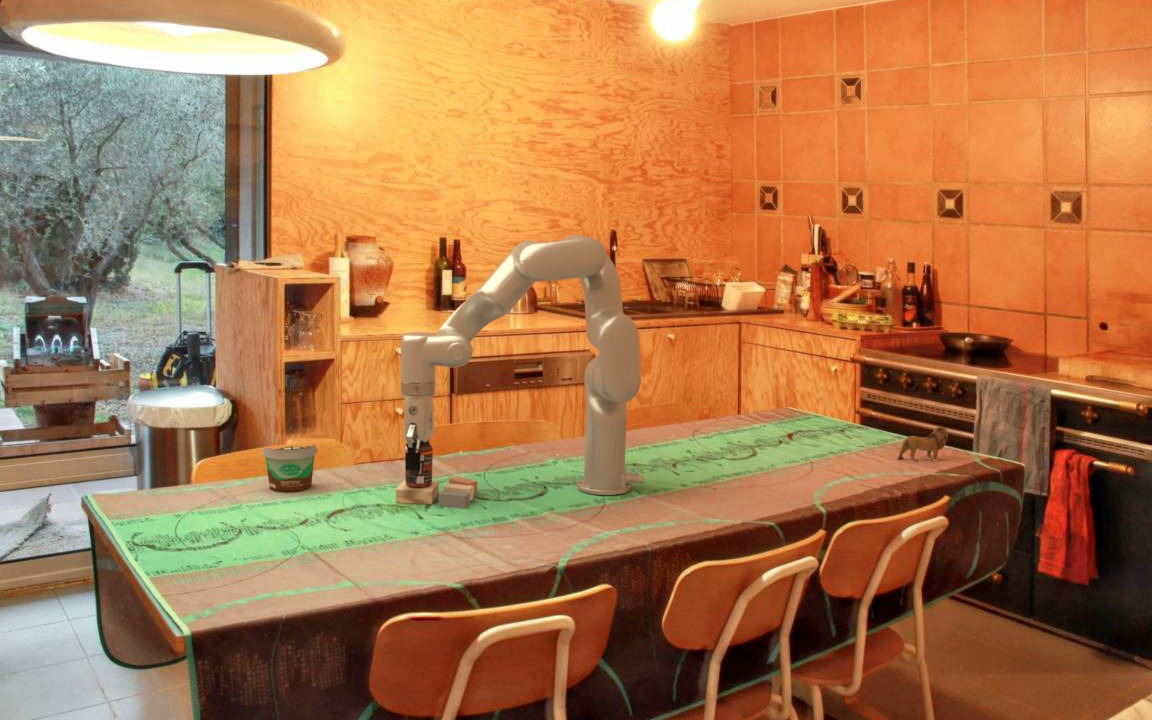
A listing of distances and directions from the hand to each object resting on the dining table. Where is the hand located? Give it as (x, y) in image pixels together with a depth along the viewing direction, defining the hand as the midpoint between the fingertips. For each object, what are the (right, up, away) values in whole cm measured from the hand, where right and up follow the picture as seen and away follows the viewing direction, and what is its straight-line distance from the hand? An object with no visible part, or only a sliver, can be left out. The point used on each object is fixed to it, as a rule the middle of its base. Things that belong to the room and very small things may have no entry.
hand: (417, 464), depth 235 cm
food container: (-29, -7, +5) cm, 30 cm away
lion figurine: (+129, -4, +50) cm, 138 cm away
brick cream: (+9, -8, +2) cm, 12 cm away
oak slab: (0, -8, +1) cm, 8 cm away
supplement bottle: (0, -5, +1) cm, 5 cm away
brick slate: (+8, -9, -3) cm, 13 cm away
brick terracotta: (+9, -7, +8) cm, 14 cm away
